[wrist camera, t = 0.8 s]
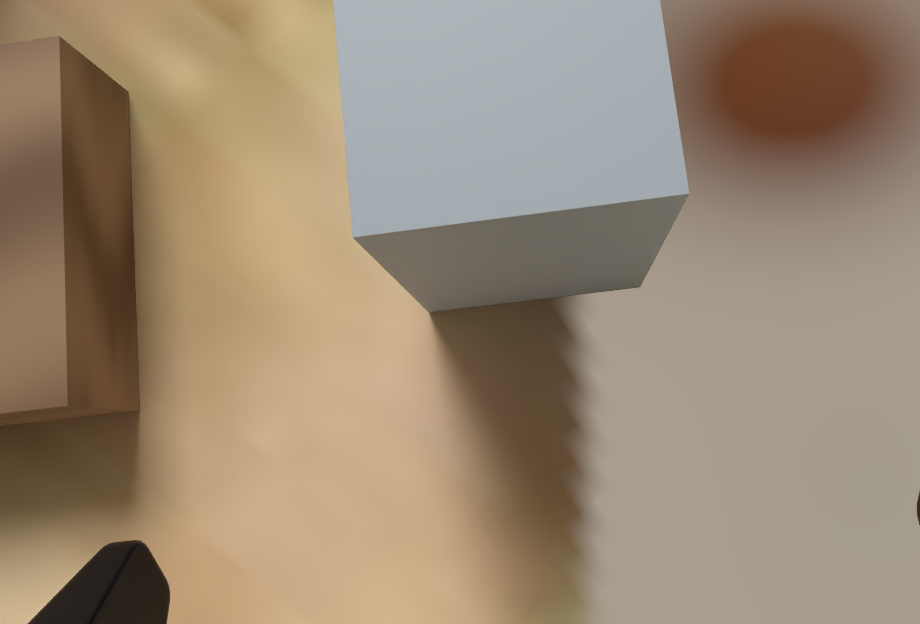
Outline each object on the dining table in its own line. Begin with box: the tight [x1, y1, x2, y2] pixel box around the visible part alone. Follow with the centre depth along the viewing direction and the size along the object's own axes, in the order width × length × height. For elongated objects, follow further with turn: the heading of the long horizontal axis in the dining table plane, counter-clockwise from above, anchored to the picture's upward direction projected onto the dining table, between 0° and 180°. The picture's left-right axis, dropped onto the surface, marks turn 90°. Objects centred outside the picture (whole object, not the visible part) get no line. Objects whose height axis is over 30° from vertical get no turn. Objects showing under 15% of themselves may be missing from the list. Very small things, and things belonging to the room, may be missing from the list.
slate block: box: [333, 0, 689, 312], centre depth 20 cm, size 6×6×9 cm
